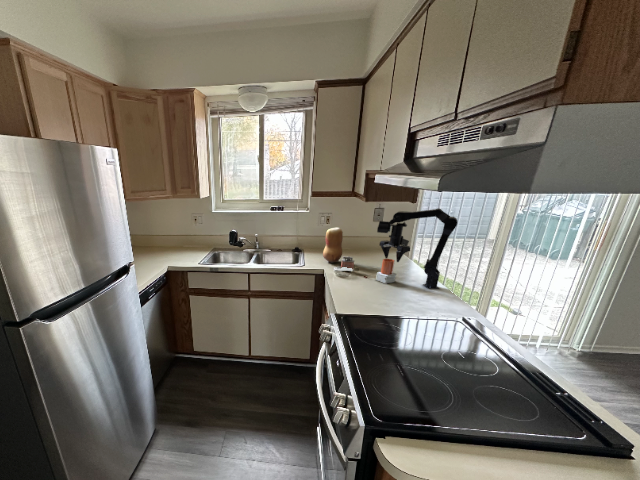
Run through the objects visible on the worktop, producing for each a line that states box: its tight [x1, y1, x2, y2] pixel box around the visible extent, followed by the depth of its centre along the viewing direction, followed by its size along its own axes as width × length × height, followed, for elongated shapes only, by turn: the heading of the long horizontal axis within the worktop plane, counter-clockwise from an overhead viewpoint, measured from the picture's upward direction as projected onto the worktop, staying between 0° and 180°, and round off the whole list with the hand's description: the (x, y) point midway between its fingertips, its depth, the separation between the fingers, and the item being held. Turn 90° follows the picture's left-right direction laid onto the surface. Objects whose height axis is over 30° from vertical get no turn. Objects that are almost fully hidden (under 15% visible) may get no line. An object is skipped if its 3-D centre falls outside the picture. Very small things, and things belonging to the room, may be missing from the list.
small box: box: [375, 271, 397, 285], centre depth 192 cm, size 8×8×5 cm
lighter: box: [340, 255, 355, 270], centre depth 211 cm, size 8×3×10 cm, turn 74°
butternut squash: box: [322, 227, 344, 263], centre depth 228 cm, size 14×13×25 cm
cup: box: [380, 258, 396, 275], centre depth 190 cm, size 6×6×8 cm
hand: (392, 260), depth 189 cm, fingers open, 9 cm apart
